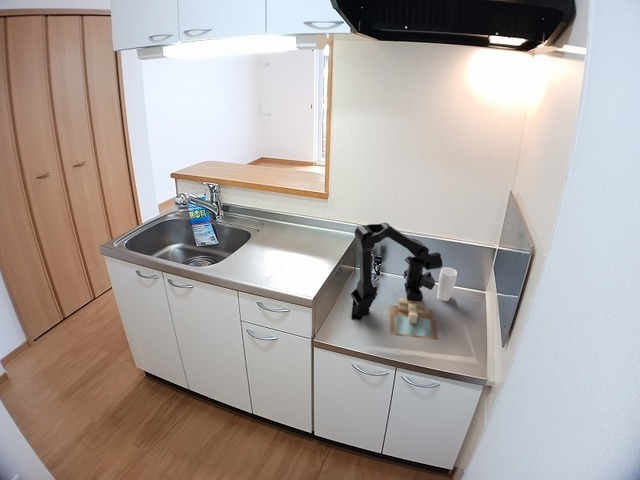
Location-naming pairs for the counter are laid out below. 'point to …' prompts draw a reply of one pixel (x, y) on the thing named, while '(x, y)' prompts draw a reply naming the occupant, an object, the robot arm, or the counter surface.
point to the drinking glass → (446, 283)
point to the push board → (412, 324)
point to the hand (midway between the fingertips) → (410, 301)
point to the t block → (411, 308)
